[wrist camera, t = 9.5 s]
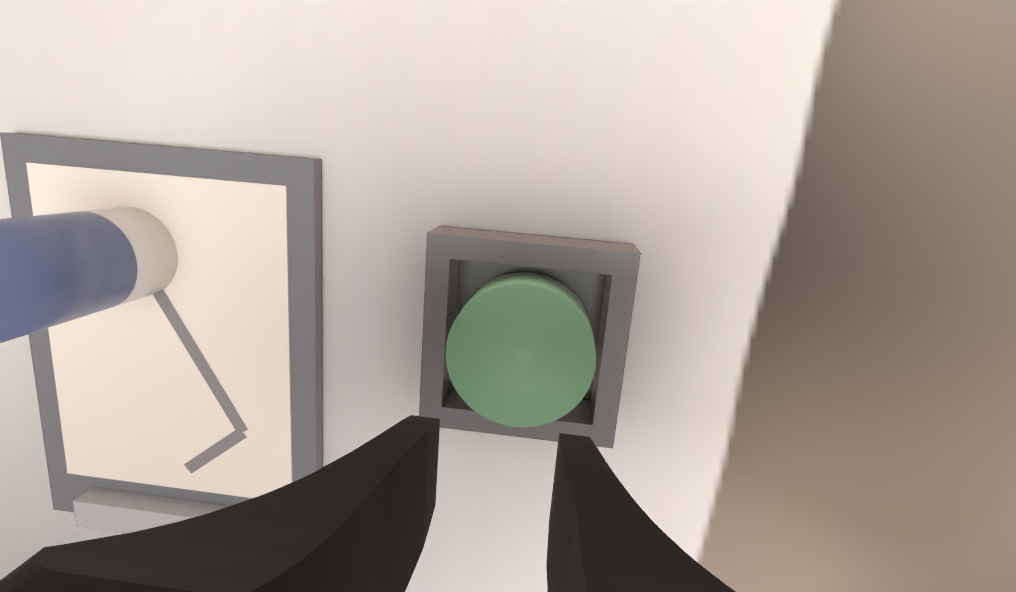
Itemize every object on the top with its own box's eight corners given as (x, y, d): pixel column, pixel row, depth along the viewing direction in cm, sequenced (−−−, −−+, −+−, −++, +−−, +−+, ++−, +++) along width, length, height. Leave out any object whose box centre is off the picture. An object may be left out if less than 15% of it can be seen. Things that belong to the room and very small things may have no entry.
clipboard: (322, 536, 24) (306, 562, 23) (65, 501, 25) (32, 523, 24) (321, 159, 20) (301, 159, 19) (15, 133, 21) (-29, 131, 20)
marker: (181, 299, 21) (0, 363, 14) (98, 292, 22) (-117, 351, 15) (173, 209, 20) (-22, 233, 14) (87, 203, 21) (-146, 223, 14)
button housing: (608, 422, 22) (612, 448, 20) (431, 401, 22) (418, 424, 20) (633, 243, 20) (640, 253, 18) (440, 225, 20) (427, 233, 18)
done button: (584, 408, 20) (586, 435, 18) (453, 393, 20) (442, 418, 18) (600, 279, 19) (605, 293, 17) (461, 265, 19) (449, 277, 17)
